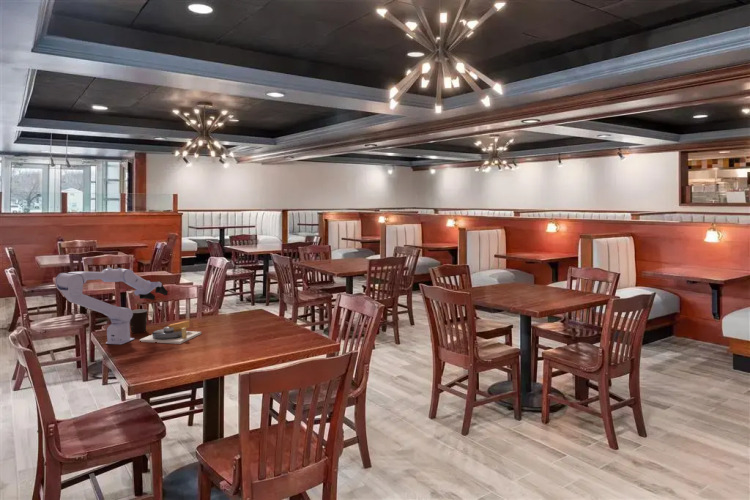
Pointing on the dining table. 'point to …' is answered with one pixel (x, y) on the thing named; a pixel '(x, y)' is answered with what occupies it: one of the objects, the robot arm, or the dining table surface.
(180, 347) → the dining table surface
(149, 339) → the base board
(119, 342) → the robot arm
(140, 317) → the coffee mug
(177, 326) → the dial
